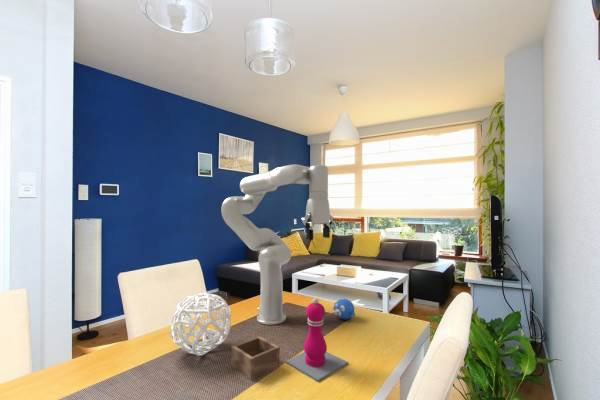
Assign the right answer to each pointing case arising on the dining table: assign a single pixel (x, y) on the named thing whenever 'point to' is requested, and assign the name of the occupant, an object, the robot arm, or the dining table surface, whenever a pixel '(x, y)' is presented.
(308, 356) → the pink bowling pin
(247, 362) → the holder
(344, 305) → the blue mole toy
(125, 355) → the dining table surface
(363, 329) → the dining table surface
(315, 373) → the mat
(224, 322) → the decorative ball
